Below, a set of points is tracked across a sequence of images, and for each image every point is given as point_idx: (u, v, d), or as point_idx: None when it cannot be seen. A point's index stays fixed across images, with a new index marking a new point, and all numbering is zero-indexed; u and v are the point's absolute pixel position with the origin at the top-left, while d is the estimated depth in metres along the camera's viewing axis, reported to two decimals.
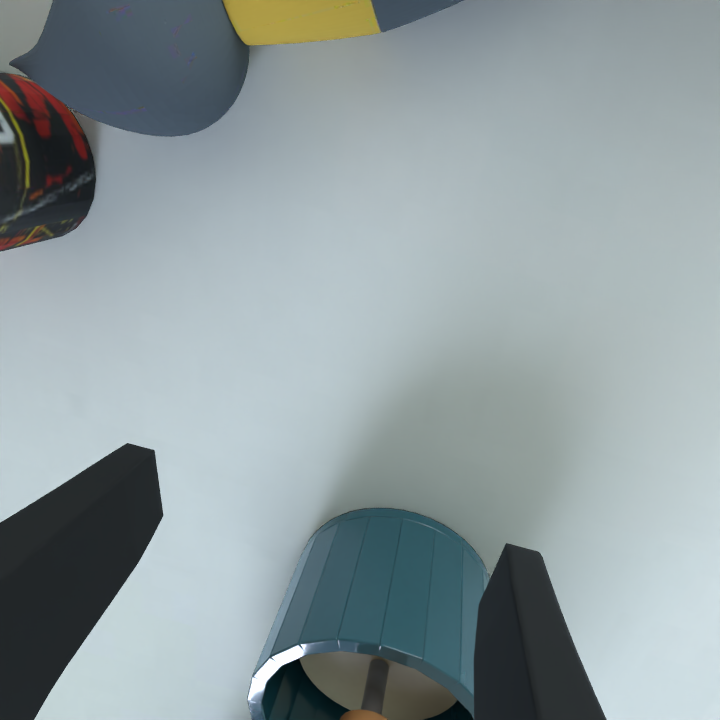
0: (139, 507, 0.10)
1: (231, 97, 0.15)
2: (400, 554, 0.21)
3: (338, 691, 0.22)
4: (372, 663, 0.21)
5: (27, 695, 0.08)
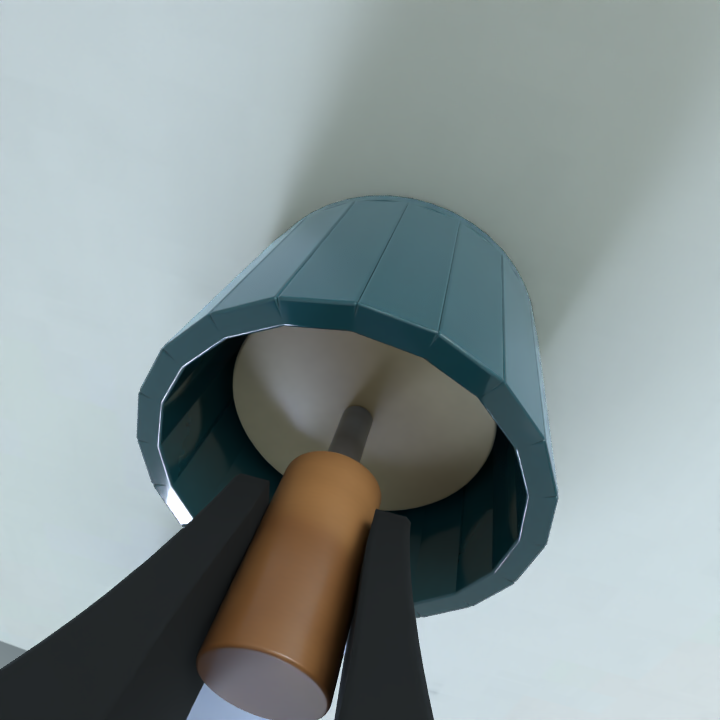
0: None
1: None
2: (403, 229, 0.12)
3: None
4: (347, 410, 0.13)
5: None
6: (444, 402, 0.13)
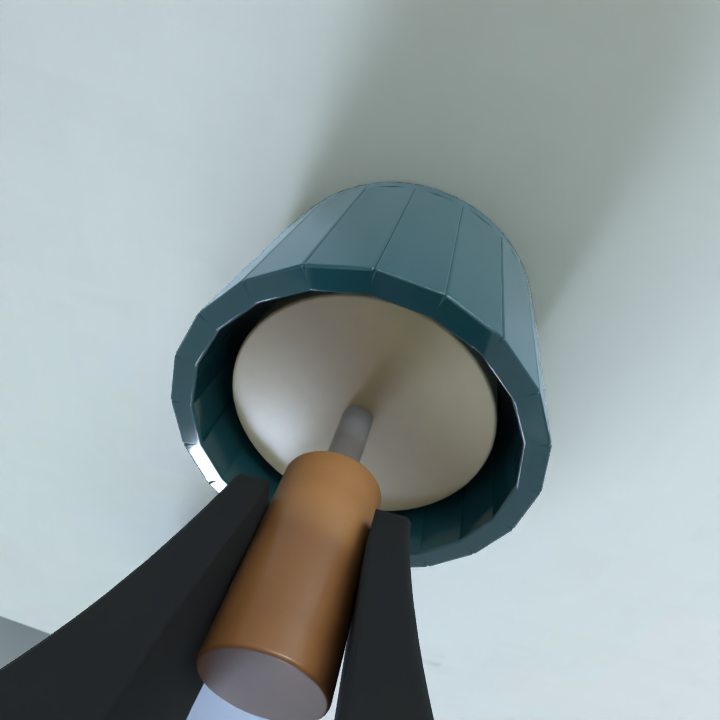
0: None
1: None
2: (411, 210, 0.13)
3: None
4: (347, 411, 0.13)
5: None
6: (444, 402, 0.13)
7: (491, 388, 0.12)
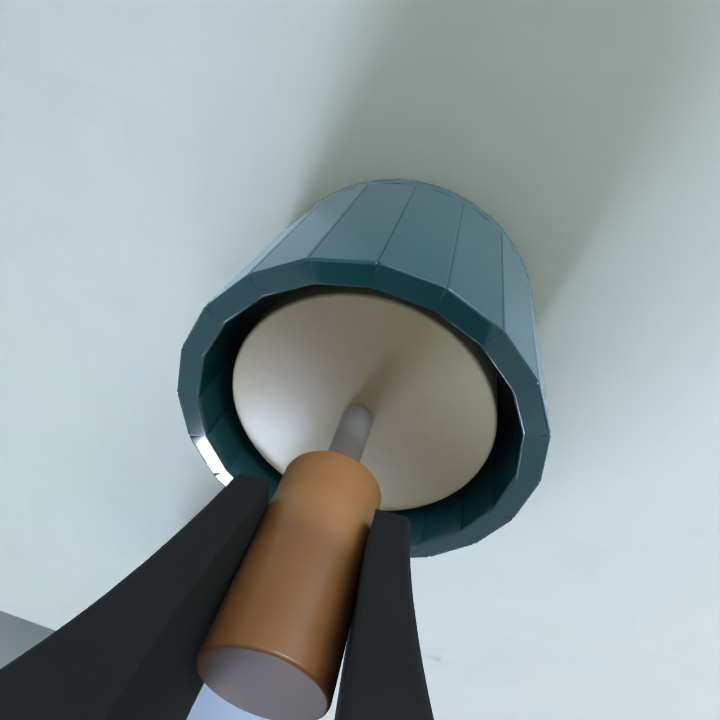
0: None
1: None
2: (413, 206, 0.14)
3: None
4: (347, 410, 0.13)
5: None
6: (444, 401, 0.13)
7: (491, 388, 0.12)
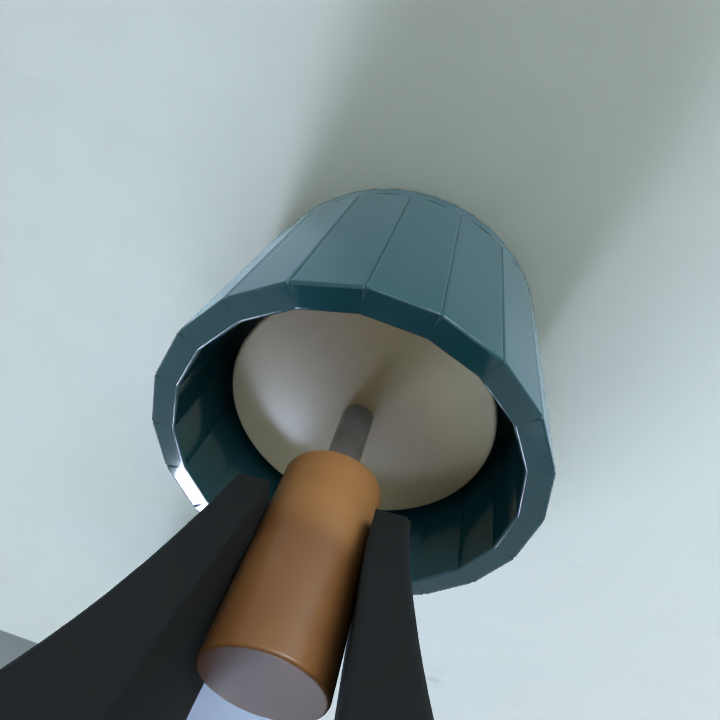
0: None
1: None
2: (407, 220, 0.13)
3: None
4: (347, 410, 0.13)
5: None
6: (444, 401, 0.13)
7: None
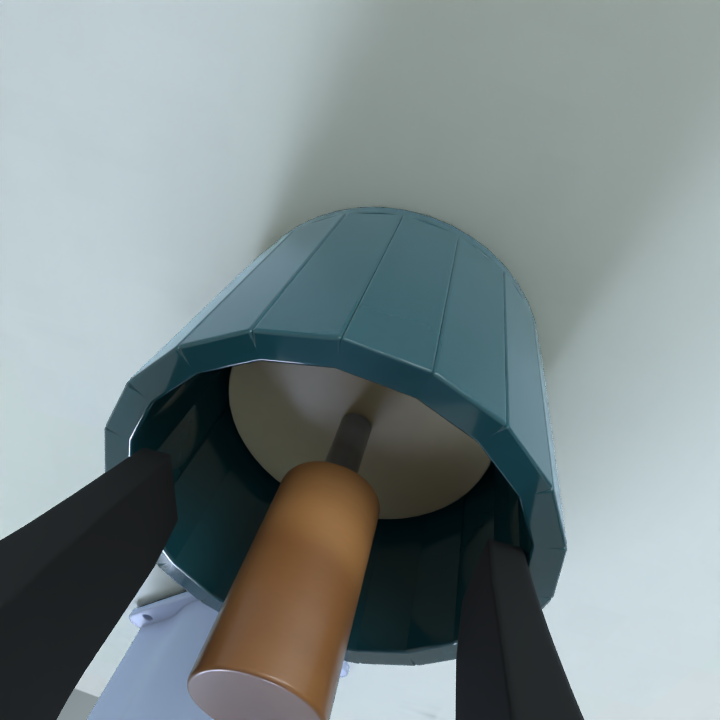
0: (155, 512, 0.10)
1: None
2: (396, 246, 0.11)
3: None
4: (345, 418, 0.13)
5: (47, 702, 0.08)
6: None
7: None
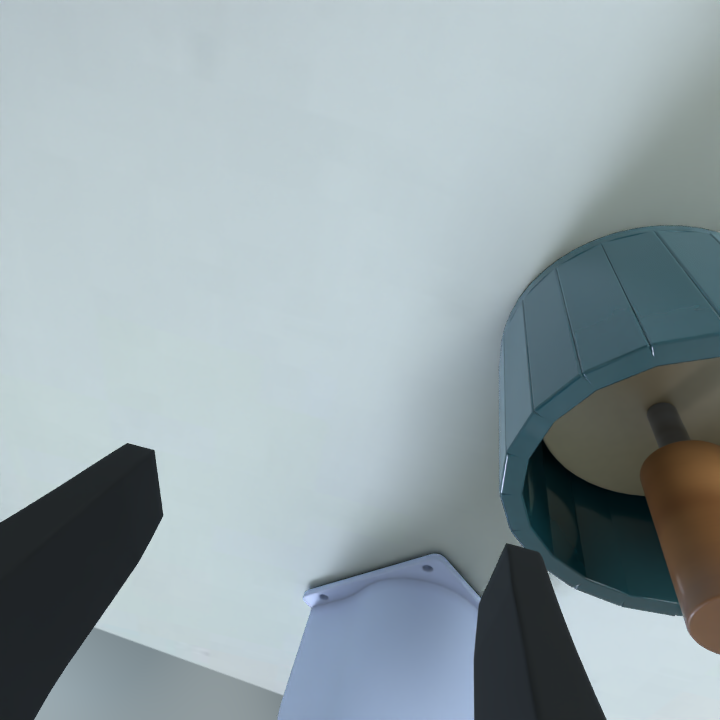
0: (139, 507, 0.10)
1: None
2: None
3: (580, 454, 0.17)
4: (657, 406, 0.15)
5: (27, 695, 0.08)
6: None
7: None
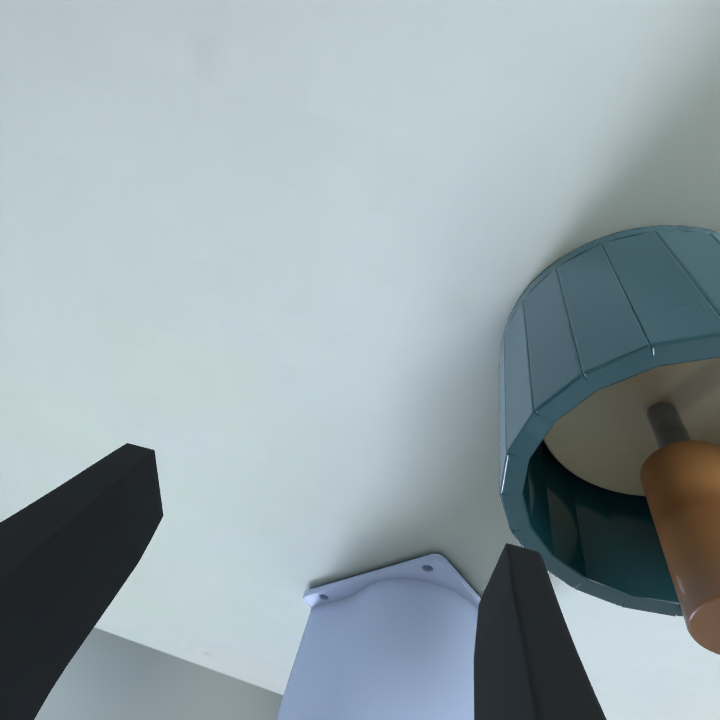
0: (139, 507, 0.10)
1: None
2: None
3: (580, 454, 0.17)
4: (657, 407, 0.15)
5: (27, 695, 0.08)
6: None
7: None
